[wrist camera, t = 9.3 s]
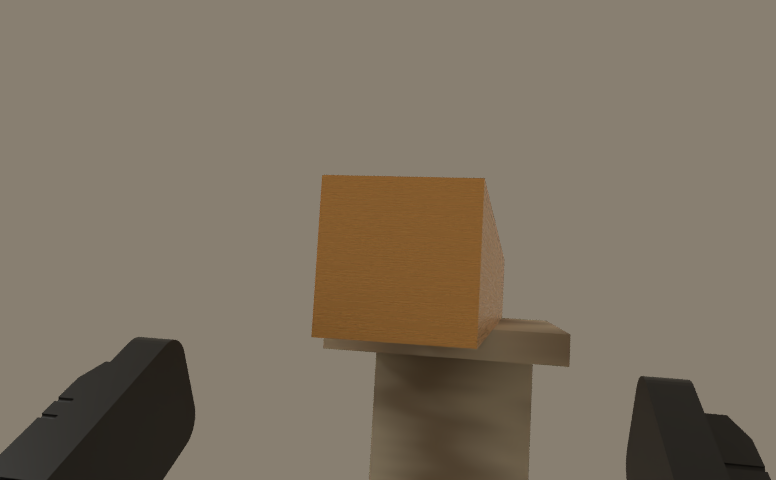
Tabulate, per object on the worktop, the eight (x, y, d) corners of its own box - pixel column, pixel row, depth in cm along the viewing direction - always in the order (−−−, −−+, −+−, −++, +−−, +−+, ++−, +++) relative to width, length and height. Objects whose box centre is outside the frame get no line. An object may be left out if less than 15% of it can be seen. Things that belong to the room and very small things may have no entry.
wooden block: (311, 337, 13) (322, 175, 13) (443, 314, 36) (446, 257, 36) (476, 348, 12) (484, 178, 12) (501, 318, 35) (504, 260, 36)
